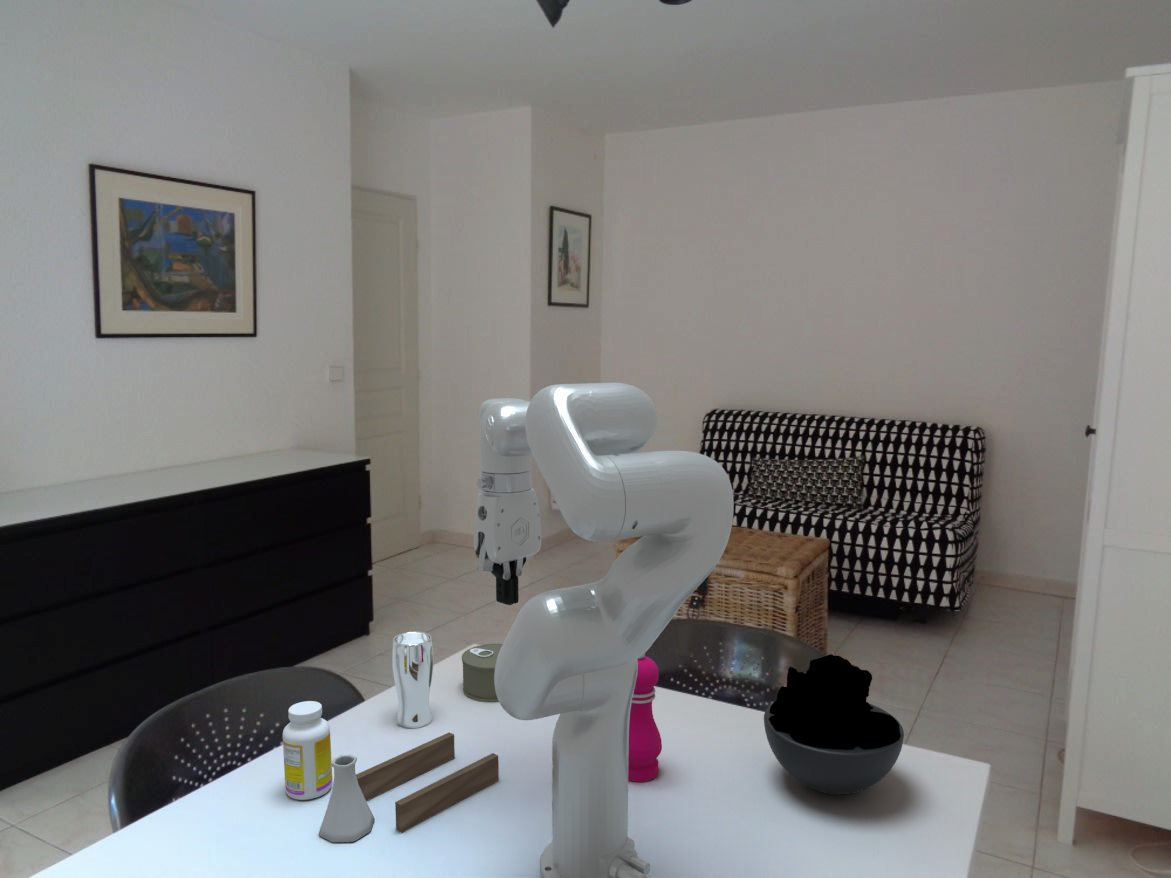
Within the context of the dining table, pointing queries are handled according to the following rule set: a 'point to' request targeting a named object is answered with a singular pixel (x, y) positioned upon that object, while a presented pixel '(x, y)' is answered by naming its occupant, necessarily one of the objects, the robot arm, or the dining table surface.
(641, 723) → the pepper mill
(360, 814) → the flask
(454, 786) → the chute
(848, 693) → the bowl of black rocks
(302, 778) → the supplement bottle
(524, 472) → the robot arm
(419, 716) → the beer glass
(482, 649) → the can
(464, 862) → the dining table surface
